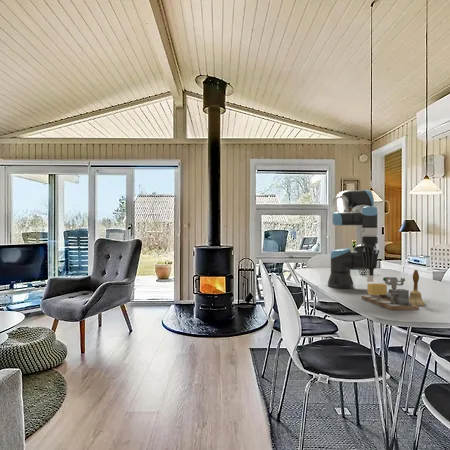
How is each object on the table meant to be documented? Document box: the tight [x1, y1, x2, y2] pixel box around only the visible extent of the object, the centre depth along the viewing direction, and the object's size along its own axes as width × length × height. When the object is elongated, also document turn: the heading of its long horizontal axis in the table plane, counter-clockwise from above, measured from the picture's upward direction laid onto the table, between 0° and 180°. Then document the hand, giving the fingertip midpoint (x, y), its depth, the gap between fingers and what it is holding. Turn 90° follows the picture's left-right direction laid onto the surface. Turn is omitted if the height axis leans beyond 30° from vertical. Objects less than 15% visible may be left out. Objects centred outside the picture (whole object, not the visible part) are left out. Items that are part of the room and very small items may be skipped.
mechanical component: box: [382, 276, 406, 297], centre depth 172 cm, size 3×10×10 cm, turn 79°
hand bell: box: [409, 269, 427, 306], centre depth 156 cm, size 8×8×16 cm
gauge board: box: [361, 288, 420, 311], centre depth 156 cm, size 24×13×8 cm, turn 8°
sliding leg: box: [367, 282, 388, 296], centre depth 163 cm, size 4×8×6 cm, turn 98°
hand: (370, 281), depth 170 cm, fingers closed
